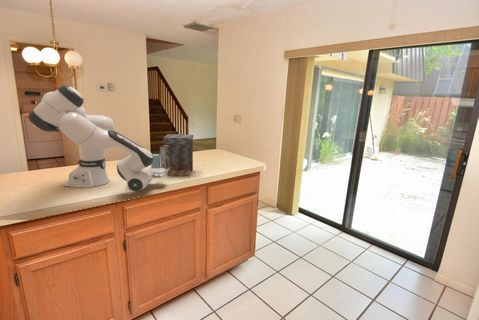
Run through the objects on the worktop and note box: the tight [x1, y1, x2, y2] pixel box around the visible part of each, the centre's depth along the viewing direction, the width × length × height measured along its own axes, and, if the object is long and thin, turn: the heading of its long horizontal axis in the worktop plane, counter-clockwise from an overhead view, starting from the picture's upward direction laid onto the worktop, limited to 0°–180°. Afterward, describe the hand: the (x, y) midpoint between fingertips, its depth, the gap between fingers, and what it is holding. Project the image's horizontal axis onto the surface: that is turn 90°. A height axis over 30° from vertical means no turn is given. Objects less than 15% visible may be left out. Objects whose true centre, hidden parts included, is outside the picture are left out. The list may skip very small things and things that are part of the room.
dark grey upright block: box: [162, 133, 194, 177], centre depth 168 cm, size 17×16×26 cm
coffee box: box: [159, 144, 170, 170], centre depth 184 cm, size 9×6×16 cm
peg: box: [150, 153, 161, 169], centre depth 161 cm, size 4×4×14 cm
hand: (151, 169), depth 151 cm, fingers open, 8 cm apart
